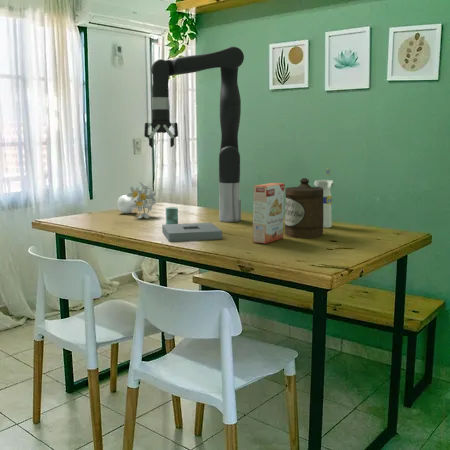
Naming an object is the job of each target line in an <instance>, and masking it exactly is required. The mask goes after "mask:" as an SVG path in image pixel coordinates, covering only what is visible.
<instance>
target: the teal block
mask: <svg viewBox="0 0 450 450" xmlns="http://www.w3.org/2000/svg"><path fill="white" fill-rule="evenodd" d="M165 224H179V209H178V207H177V206H172V207H168V206H167V207H165Z"/></svg>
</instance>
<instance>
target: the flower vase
mask: <svg viewBox="0 0 450 450" xmlns="http://www.w3.org/2000/svg"><path fill="white" fill-rule="evenodd" d="M138 183H139V184H140V187H141V190H140V187H139V186H137V187H136V188H134V186H130V192H129V193H128V194H123V195H120V196H119V198H118V199H117V203H116V204H117V208H118V210H119V211H120V212H121V213H123V214H127V215H128V214H131V213H132V212H133V211H134V210H135V209H136V208H137V211H139V212H141V211H142V210H143V213H141V214H139V215H138V216H137V219H142V218H144V219H149V218H153V216H152V215H149V212H151V211H152V209H153V206H154V205H155V204H156V203H157V202H156V199H155V196H156V191H154V190H153V189H154V188H153V186H152V187H151V186H147V185H146V184H145V183H144V182H142V181H139V180H138ZM149 190H150V192H149ZM148 192H149V194H148ZM148 200H150V201H151V202H150V203H148ZM145 209H147V213H146V211H145Z"/></svg>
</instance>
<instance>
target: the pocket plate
mask: <svg viewBox="0 0 450 450" xmlns="http://www.w3.org/2000/svg"><path fill="white" fill-rule="evenodd" d="M161 229H162V230H161V231H162V233H163V235H164V236H165V238H166V239H167V240H168V242H184V241H185V242H186V241H187V242H189V241H205V240H206V241H207V240H209V239H210V240H222V239H223V231H222V229H221V228H219V227H218V226H216V225H215V224H213V223H212V222H198V223H197V222H196V223H194V222H193V223H192V222H191V223H178V224H166V223H165V224H162V226H161Z"/></svg>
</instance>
